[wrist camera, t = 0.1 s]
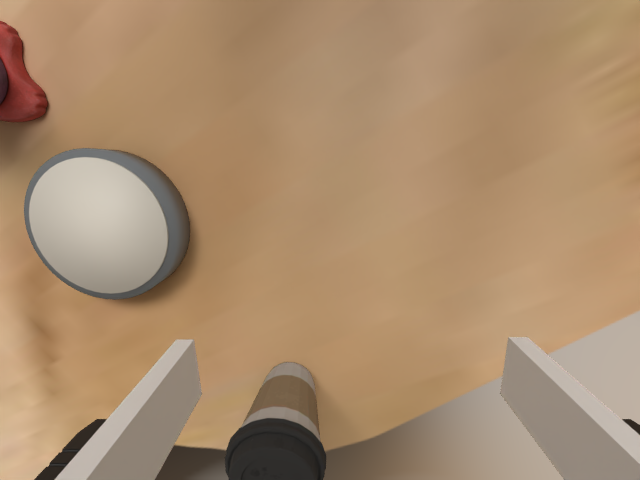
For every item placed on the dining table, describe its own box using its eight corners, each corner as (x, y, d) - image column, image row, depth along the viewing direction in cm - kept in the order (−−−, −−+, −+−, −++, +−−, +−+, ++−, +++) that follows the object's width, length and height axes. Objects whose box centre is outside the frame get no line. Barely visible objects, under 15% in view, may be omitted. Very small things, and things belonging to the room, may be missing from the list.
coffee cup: (241, 393, 47) (200, 496, 32) (273, 336, 44) (245, 421, 30) (305, 423, 48) (294, 537, 33) (341, 370, 45) (346, 468, 31)
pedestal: (35, 151, 39) (2, 149, 35) (179, 148, 38) (162, 146, 34) (68, 288, 43) (42, 300, 39) (197, 288, 43) (184, 300, 39)
